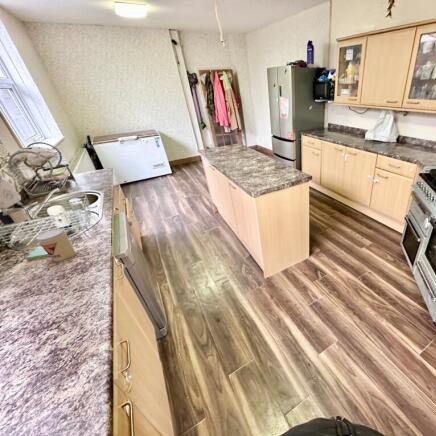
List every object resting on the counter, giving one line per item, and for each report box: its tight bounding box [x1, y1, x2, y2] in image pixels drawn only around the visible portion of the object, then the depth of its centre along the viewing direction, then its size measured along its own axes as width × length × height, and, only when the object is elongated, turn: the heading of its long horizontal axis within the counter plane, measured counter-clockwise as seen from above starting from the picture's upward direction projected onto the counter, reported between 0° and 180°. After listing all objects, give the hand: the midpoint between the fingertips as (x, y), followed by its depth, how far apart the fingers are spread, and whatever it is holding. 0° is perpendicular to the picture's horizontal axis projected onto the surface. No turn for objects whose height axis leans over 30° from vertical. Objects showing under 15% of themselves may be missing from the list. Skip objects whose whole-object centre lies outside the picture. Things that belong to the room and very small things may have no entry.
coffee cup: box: [35, 227, 76, 262], centre depth 102 cm, size 9×9×12 cm
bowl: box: [6, 208, 30, 226], centre depth 96 cm, size 7×7×4 cm
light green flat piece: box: [25, 245, 50, 261], centre depth 108 cm, size 12×10×3 cm
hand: (16, 219), depth 97 cm, fingers closed on bowl, 7 cm apart
